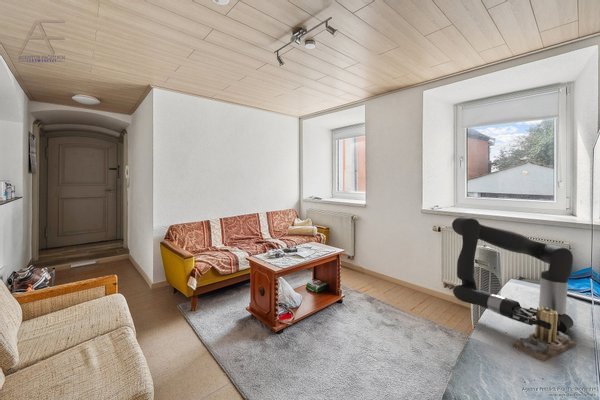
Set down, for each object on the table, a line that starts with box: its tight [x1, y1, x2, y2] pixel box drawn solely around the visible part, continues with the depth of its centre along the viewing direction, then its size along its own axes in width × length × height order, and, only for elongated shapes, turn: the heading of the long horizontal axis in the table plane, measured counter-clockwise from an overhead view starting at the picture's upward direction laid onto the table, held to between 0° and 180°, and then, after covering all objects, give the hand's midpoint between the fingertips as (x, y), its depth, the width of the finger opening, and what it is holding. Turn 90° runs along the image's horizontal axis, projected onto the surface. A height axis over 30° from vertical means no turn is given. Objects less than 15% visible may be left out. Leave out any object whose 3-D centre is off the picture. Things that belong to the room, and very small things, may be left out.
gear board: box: [512, 331, 577, 362], centre depth 100 cm, size 25×9×4 cm, turn 116°
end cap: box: [557, 313, 574, 334], centre depth 111 cm, size 10×7×7 cm
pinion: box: [534, 306, 558, 343], centre depth 100 cm, size 6×6×12 cm
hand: (554, 325), depth 97 cm, fingers closed on pinion, 5 cm apart
